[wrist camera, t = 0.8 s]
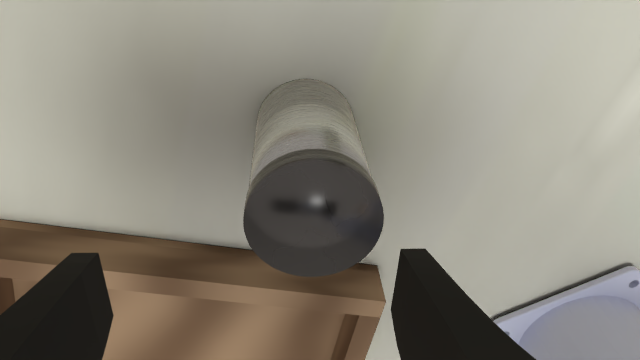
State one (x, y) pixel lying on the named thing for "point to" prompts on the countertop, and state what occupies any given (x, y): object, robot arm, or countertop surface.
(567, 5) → the countertop surface
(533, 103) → the countertop surface
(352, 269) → the walnut tray
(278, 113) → the steel shaker
